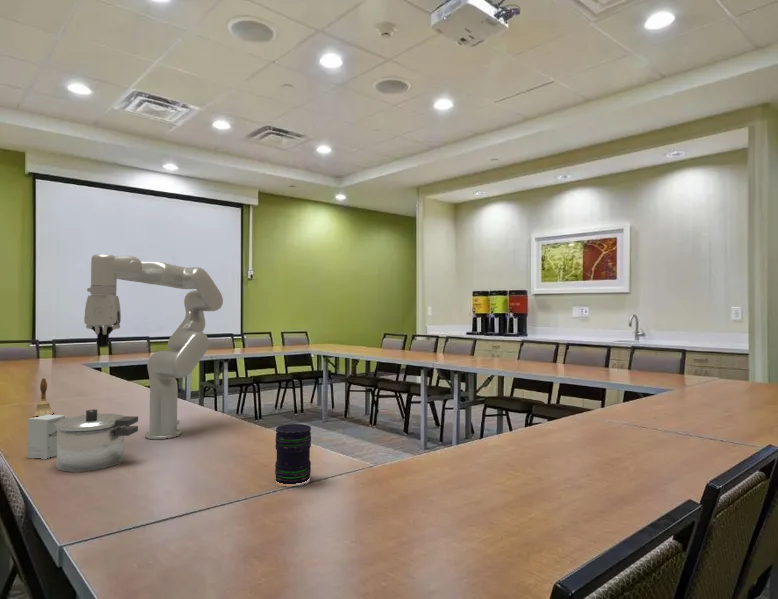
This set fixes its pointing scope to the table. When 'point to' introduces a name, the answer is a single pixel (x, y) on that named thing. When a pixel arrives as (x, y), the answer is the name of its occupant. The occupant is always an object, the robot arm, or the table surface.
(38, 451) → the supplement box
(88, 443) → the cooker pot
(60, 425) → the cooker lid
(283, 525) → the table surface
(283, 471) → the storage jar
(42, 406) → the hand bell
